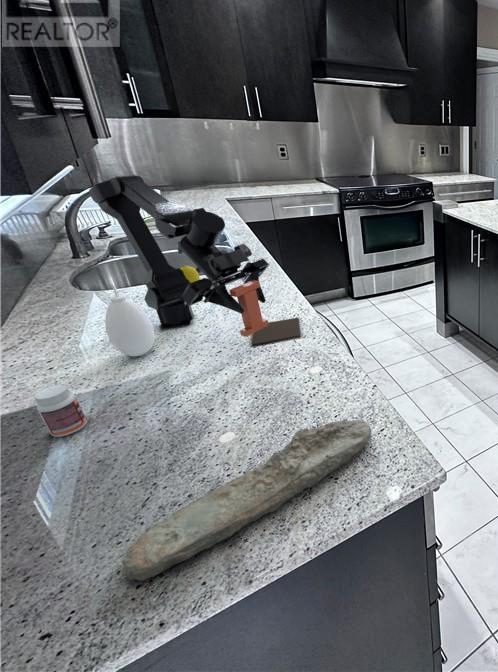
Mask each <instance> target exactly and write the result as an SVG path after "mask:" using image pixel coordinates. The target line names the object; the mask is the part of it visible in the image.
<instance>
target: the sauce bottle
mask: <svg viewBox="0 0 498 672" xmlns="http://www.w3.org/2000/svg"><path fill="white" fill-rule="evenodd" d="M112 288H113V292H114V295H113V296H111V297H110V299H109V300H110V303H109V304H108V306H107V309H106V311H105V317H104V325H105V326H104V327H105V332H106V335H107V337H108V340H109V342H110V344H111V345H112V346H113V347H114V349H116V350H117V351H119V352H120V353H121V354H123V355H125V356H130V357H141V356H144V355H145V354H147V353H148V352H149V351H150V349H152V348H153V346H154V343H155V337H156V336H155V335H156V334H155V333H156V332H155V329H154V325H153V323H152V322H151V320H150V318H149V316H148V315H147V313H146V311H144V310H143V309H142V308H141V307H140V306H139V305H138V304H137V303H135V302H134V301H133V300H131V299H129V298H127V295H125V294H119V293H118V290H117V289H116V286H114V285H113V286H112Z"/></svg>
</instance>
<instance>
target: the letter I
mask: <svg viewBox="0 0 498 672" xmlns="http://www.w3.org/2000/svg"><path fill="white" fill-rule="evenodd" d="M260 286H261V284H260V280H259V281H256V280H252V281H250V282H248V283H245V284H243V283H242V284H241V285H238V286H236V287H233V288H231V289H229V294H230V295H231V296H232V297H233V298H237V302H238V303H239V304H240V305H241V307H242V308H243V309H244V312H243V313H242V314H241V313H240V314H241V318H242V323H243V328H241V329H239V333H240V336H241V337H245V338H247V337H249V336H252V335H253V333H255V332H257V331H259V330H260V329H262V328H264V327H266V326H268V325H269V319H266V318H263V316H262V315H263V314H262V310H261V306H260V301H259V300H258V297H257V293H256V290H255V289H257V288H259V287H260Z"/></svg>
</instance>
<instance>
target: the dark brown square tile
mask: <svg viewBox="0 0 498 672" xmlns="http://www.w3.org/2000/svg"><path fill="white" fill-rule="evenodd" d="M268 323H269V325H268V326H266V327H264V328H262V329H260V330H259V331H257V332H255V333H253V334H252V342H251V345H252V346H253V347H254V346H259V345H266V344H270V343H275V342H280V341H286V340H290V339H291V340H292V339H297V338H301V337H302V336H301V329H300V320H299V317H294V318H293V317H292V318H288V319H282V320H281V319H280V320H275V321H268Z"/></svg>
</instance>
